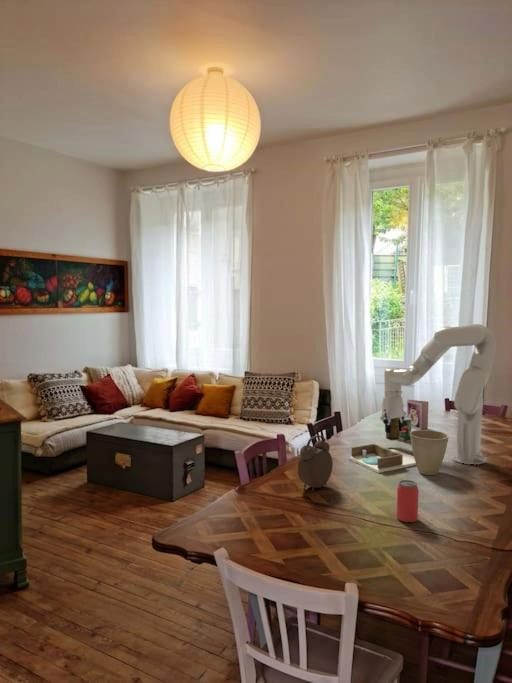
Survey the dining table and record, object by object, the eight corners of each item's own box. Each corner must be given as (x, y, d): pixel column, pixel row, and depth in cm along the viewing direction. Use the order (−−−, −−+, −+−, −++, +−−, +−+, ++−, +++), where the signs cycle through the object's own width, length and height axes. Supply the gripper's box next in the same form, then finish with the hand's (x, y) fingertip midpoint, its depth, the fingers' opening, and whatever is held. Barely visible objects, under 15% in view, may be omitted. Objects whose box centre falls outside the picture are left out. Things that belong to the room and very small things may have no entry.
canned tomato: (409, 437, 258) (409, 416, 257) (412, 441, 251) (413, 420, 250) (393, 436, 259) (393, 415, 258) (396, 441, 251) (396, 419, 250)
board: (424, 463, 218) (425, 454, 217) (377, 473, 206) (378, 463, 206) (394, 451, 235) (394, 442, 234) (349, 459, 223) (349, 450, 223)
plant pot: (453, 472, 207) (454, 434, 206) (437, 481, 197) (439, 441, 195) (418, 463, 218) (419, 427, 216) (402, 472, 207) (403, 434, 205)
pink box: (405, 426, 280) (405, 399, 279) (415, 424, 284) (416, 398, 282) (419, 431, 270) (420, 403, 269) (430, 429, 273) (431, 402, 272)
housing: (402, 464, 212) (402, 454, 212) (379, 468, 207) (379, 459, 206) (373, 452, 229) (374, 443, 228) (351, 456, 223) (351, 447, 223)
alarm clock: (318, 480, 198) (319, 430, 196) (333, 485, 193) (334, 434, 191) (294, 490, 188) (294, 437, 186) (309, 495, 183) (309, 441, 181)
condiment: (395, 435, 245) (395, 410, 244) (404, 439, 236) (404, 414, 236) (381, 436, 243) (381, 412, 242) (390, 441, 235) (390, 415, 234)
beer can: (414, 525, 159) (415, 488, 158) (393, 520, 163) (394, 484, 162) (419, 517, 165) (421, 481, 164) (399, 512, 168) (400, 477, 167)
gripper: (401, 391, 246) (401, 427, 247) (373, 395, 238) (374, 432, 239) (412, 393, 239) (412, 430, 240) (384, 397, 231) (384, 436, 232)
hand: (393, 431), depth 240 cm, fingers closed on condiment, 6 cm apart
